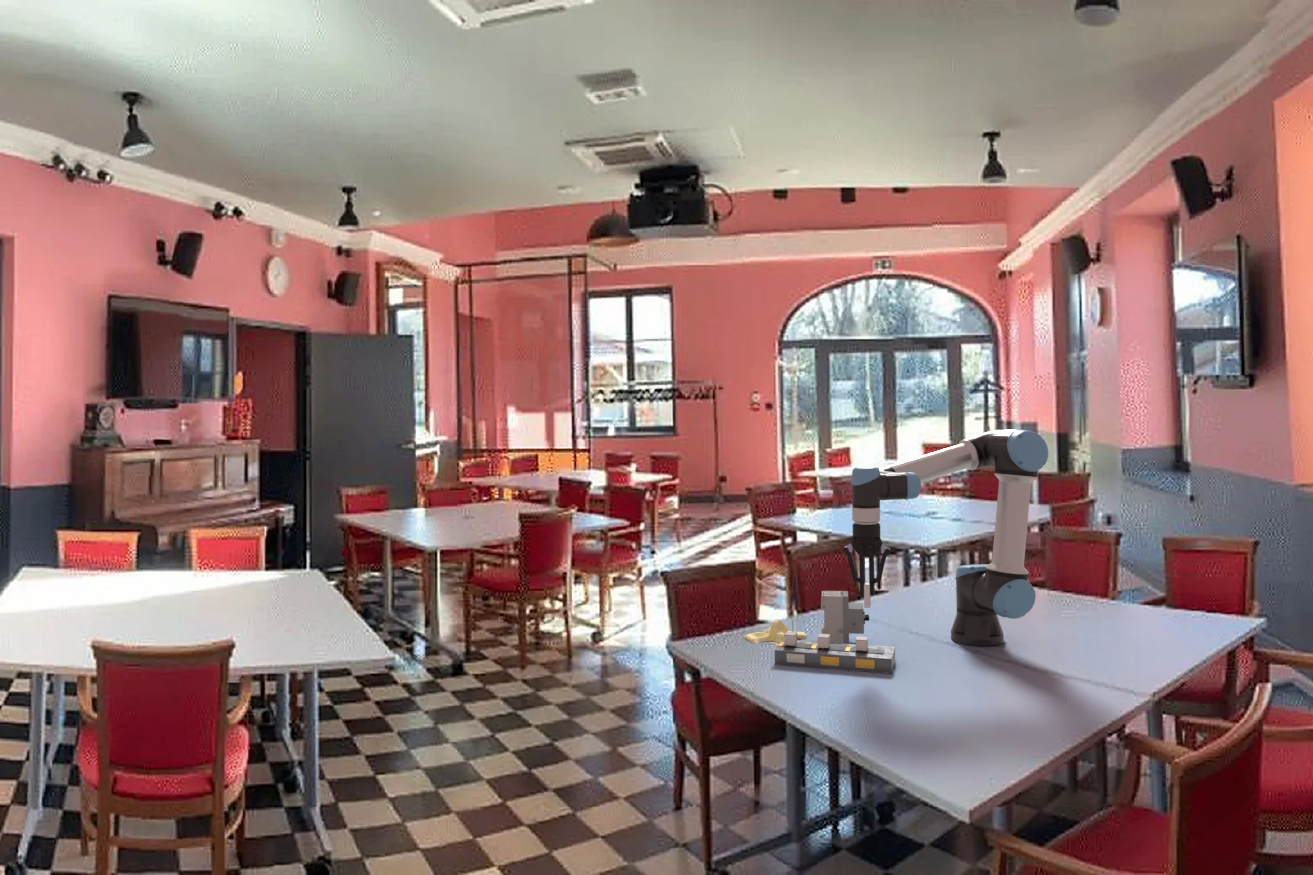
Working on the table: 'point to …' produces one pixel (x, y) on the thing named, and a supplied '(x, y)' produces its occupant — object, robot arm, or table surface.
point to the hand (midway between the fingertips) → (867, 606)
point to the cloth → (772, 634)
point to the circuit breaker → (841, 616)
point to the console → (836, 656)
